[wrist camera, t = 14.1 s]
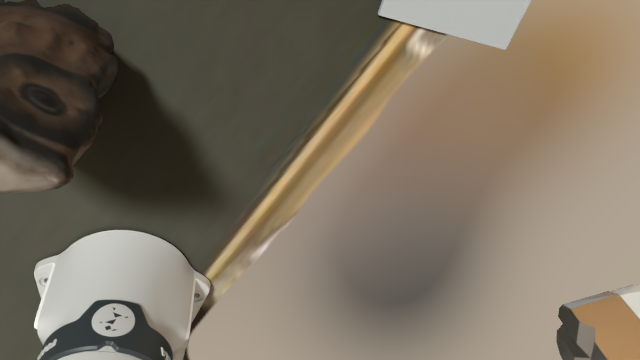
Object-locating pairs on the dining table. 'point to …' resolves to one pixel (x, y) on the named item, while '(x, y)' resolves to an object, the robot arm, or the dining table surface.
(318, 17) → the dining table surface
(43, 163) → the owl
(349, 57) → the dining table surface
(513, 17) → the mat
